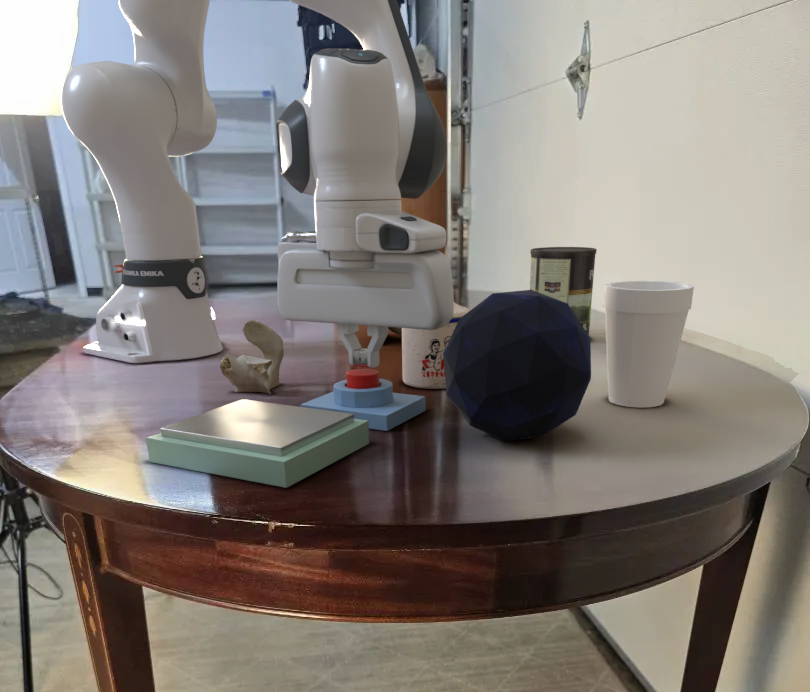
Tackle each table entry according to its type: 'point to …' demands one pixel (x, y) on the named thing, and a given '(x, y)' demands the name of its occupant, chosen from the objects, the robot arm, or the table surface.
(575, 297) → the coffee can
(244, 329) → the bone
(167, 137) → the robot arm
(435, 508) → the table surface
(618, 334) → the foam cup
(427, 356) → the teacup with lid
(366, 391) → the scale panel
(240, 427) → the scale
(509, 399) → the decorative orb
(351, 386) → the button
